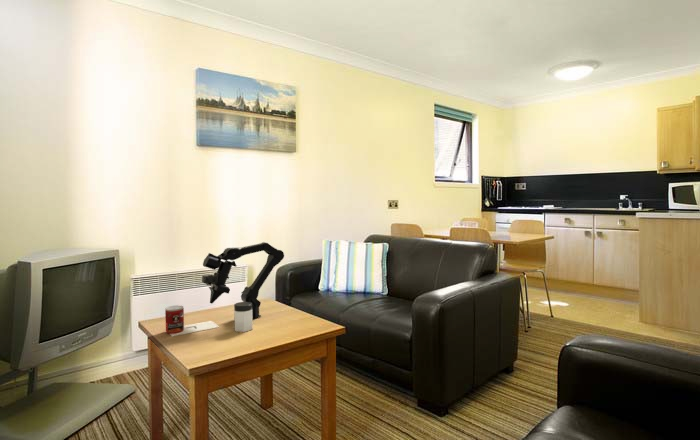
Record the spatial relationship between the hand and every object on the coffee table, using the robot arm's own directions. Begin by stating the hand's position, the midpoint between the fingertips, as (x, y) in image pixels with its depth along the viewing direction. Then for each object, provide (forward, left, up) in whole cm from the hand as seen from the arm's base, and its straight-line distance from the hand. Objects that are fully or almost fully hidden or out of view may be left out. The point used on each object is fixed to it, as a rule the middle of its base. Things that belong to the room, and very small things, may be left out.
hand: (210, 303), depth 186 cm
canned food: (+8, +14, -11) cm, 20 cm away
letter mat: (+5, +8, -11) cm, 14 cm away
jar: (-18, -1, -11) cm, 21 cm away
